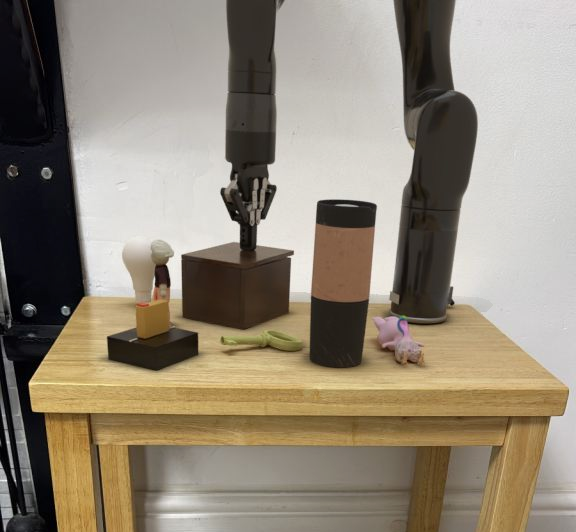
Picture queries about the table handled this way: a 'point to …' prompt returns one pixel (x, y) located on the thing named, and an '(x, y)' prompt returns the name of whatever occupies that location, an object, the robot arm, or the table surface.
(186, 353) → the plate
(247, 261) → the lockbox lid
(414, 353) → the pink toy animal
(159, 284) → the grandmother figurine
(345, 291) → the travel mug
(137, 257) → the lightbulb
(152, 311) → the lock knob
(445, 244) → the robot arm
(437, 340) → the table surface
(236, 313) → the box
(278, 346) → the key
